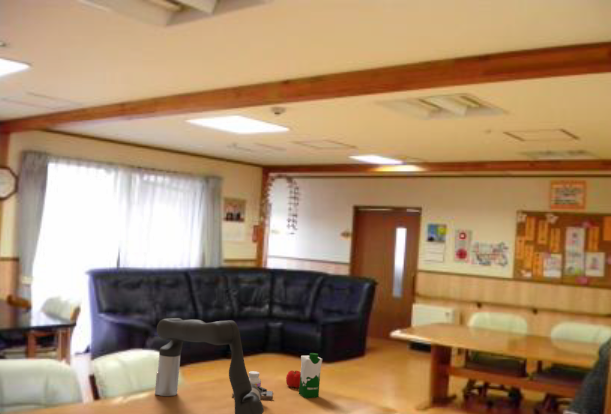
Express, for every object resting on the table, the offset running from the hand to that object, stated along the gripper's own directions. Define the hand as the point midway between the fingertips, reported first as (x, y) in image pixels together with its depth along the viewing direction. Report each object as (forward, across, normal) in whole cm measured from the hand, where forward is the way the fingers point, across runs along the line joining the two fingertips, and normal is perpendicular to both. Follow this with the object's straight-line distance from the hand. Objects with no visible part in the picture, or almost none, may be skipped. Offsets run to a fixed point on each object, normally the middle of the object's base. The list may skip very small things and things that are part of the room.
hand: (252, 385), depth 256 cm
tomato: (+40, -20, +10) cm, 45 cm away
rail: (+15, 0, +10) cm, 18 cm away
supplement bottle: (+9, 0, +10) cm, 14 cm away
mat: (+22, 0, +10) cm, 24 cm away
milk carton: (+26, -26, +10) cm, 38 cm away
